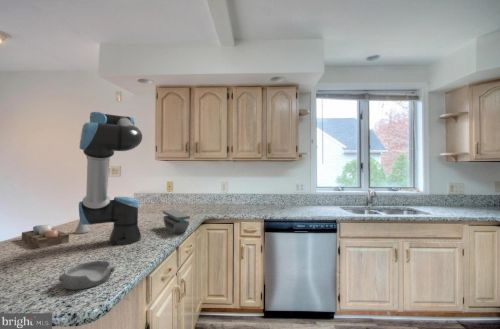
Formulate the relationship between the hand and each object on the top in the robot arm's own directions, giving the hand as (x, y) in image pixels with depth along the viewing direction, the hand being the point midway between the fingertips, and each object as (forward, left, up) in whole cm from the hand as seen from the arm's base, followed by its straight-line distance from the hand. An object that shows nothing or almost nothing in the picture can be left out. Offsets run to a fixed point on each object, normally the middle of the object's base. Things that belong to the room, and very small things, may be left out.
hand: (96, 178), depth 144 cm
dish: (-61, +32, -33) cm, 76 cm away
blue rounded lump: (+13, +22, -31) cm, 40 cm away
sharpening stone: (-34, -31, -33) cm, 56 cm away
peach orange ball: (-3, +22, -31) cm, 38 cm away
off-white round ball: (+5, +22, -29) cm, 37 cm away
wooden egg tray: (+5, +22, -32) cm, 39 cm away
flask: (+8, +3, -33) cm, 34 cm away
